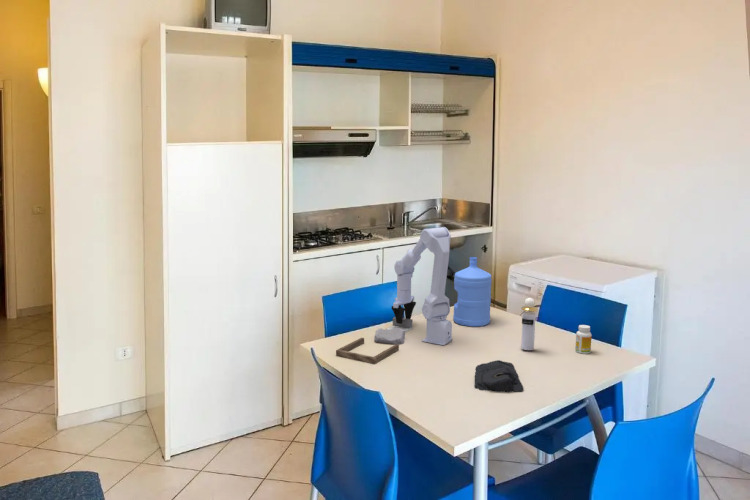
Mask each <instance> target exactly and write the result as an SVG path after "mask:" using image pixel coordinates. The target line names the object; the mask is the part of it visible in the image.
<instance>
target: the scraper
mask: <svg viewBox="0 0 750 500" xmlns="http://www.w3.org/2000/svg"><path fill="white" fill-rule="evenodd" d="M395 328H401V329H403V330H404V331H405V333H407V332H409V331H411V330H412V329H413V318H412V319H407V318H405V317H403V320H402V324H399V323H397V322H396V318H395V316H394V317H393V318H392V325H391V326H389V327H387V328H385V330H390V329H395Z"/></svg>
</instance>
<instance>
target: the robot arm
mask: <svg viewBox="0 0 750 500" xmlns="http://www.w3.org/2000/svg"><path fill="white" fill-rule="evenodd" d="M451 237H452V235H451V233H450V231H449V229H448V228H447V227H445V226H441V227H433V228H432V227H431V228H423V229H422V231H421V233H420V234H419V240H418V241H417V243H416V244H415V246H414V247H413V248H410V249H407V250H406V253H405V255H404V256H403V257H402V259H400V260H396V262H395V263H394V272H395V274H396V277H397V278H396V280H397V281H396V286H397V287H396V288H397V289H396V298H394V302H393V303H392V304H393V305H391V310H392V312H393V314H394V317H395V318H396V322H397V323H399V324H402V320H403V318H407V319H411V318H412V314H413V312H414V308H415V307H416V304H417V302H416V301H415V295H412V278H413V276H414V275H413V274H414V272H415V266H416V265H417V264H418V262H420V260H421V257H422V256H421V254H422V253H423V252H424V251H425V250H426V249H428V251H429V252H431V253H433V254H434V255H433V267H432V273H431V274H432V275H431V285H430V293H429V294H428V295H427V296H426V298H425V299H424V302H423V304H422V307H421V311H422V312H421V313H422V315H423V317H424V320H426V325H425V326H426V331H425V332H426V333H425V334H426V336H425V338H423V339H422V340H421V341H422V342H424V343H429V344H435V345H439V346H445V345H447V344H448V343H450V342H451V341H453V338H452V337H453V336H452V335H453V324H452V321H451V320H448V319H447V318H448V316H449V314H450V313H451V307H450V298H449V297H447V295H445V292H446V285H447V276H448V268H449V261H450V252H451V251H450V246H451V240H452V239H451Z"/></svg>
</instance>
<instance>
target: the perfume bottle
mask: <svg viewBox="0 0 750 500" xmlns="http://www.w3.org/2000/svg"><path fill="white" fill-rule="evenodd" d="M535 303H536V302H535V299H534V298H533V297H526V299H525V300H524V305H523V306H521V308H520V309H521V310H522V311H523V312H522V317H521V324H522V328H521V350H525V351H533V350H534V349H535V337H536V336H535V333H536V331H535V330H536V316H537V315H536V312H537V311H538V307H536V306H535Z"/></svg>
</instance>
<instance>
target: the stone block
mask: <svg viewBox="0 0 750 500" xmlns="http://www.w3.org/2000/svg"><path fill="white" fill-rule="evenodd" d="M405 335H406V332H405V331H404V330H403V329H401V328H395V329H390V330H386V329H383V328H377V329H376V330H375V334H374V339H373V340H374V342H375V343H380V344H389V345H396V344H397V345H402V344H404V343H405V339H406V338H405V337H406V336H405Z"/></svg>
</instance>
